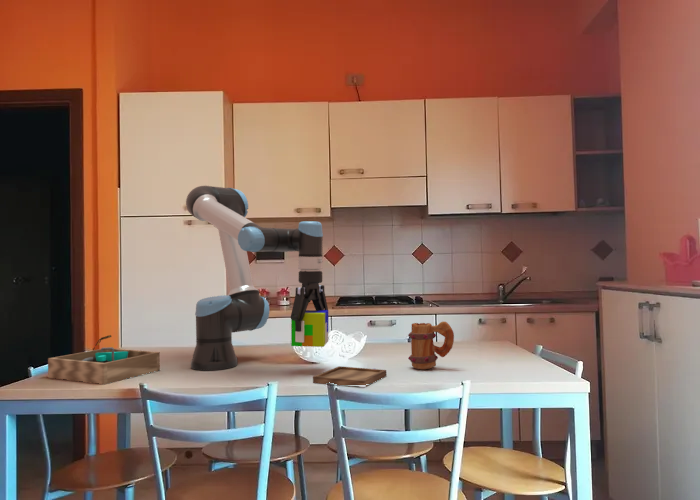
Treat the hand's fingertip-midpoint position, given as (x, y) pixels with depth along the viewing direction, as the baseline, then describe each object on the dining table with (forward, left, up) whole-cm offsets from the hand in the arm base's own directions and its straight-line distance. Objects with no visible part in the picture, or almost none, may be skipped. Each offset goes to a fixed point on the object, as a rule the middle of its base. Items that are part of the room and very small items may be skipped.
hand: (310, 339), depth 170 cm
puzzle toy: (0, 0, -2) cm, 2 cm away
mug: (+34, +18, -10) cm, 39 cm away
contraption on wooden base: (-60, -28, -11) cm, 67 cm away
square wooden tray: (+17, -5, -10) cm, 20 cm away
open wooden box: (-60, -27, -10) cm, 67 cm away
